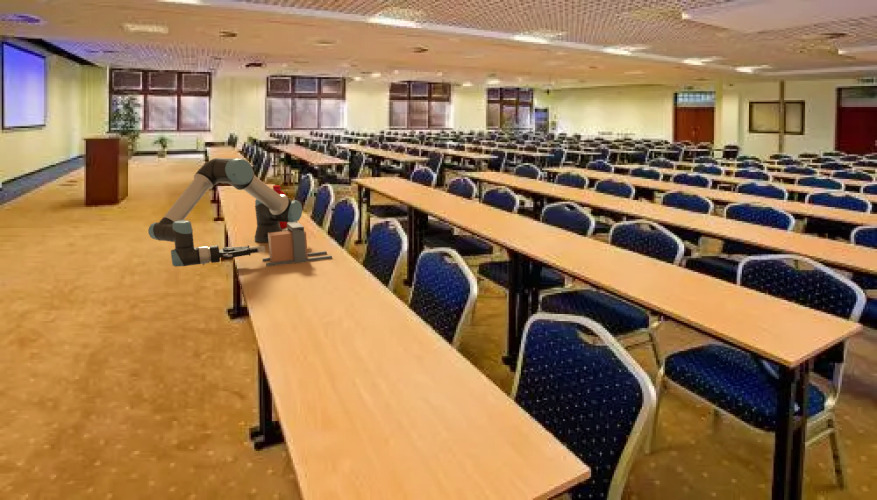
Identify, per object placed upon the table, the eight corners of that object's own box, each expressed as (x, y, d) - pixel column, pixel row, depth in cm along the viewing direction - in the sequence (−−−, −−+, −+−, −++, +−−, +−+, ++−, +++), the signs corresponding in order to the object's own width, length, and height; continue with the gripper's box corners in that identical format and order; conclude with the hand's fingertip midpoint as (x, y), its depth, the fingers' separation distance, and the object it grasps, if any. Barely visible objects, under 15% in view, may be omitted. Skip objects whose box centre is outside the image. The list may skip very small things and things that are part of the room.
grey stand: (267, 266, 273) (264, 230, 270) (262, 260, 285) (259, 225, 281) (332, 258, 286) (330, 224, 282) (325, 253, 297) (323, 219, 293)
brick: (272, 263, 277) (270, 235, 274) (270, 260, 283) (267, 232, 280) (307, 259, 284) (306, 232, 281) (304, 256, 290) (302, 229, 287)
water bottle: (292, 226, 363) (289, 184, 357) (282, 229, 353) (278, 186, 347) (279, 225, 366) (276, 183, 360) (268, 229, 356) (265, 186, 350)
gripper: (209, 259, 275) (263, 253, 284) (211, 266, 263) (267, 259, 273) (207, 243, 273) (261, 237, 282) (210, 249, 261) (266, 243, 271)
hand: (264, 248), depth 278 cm, fingers closed
